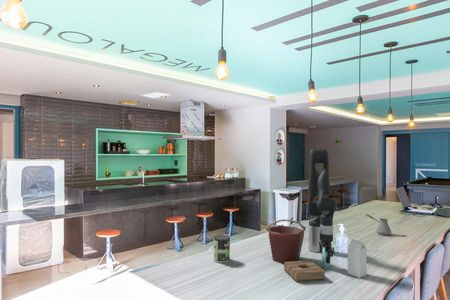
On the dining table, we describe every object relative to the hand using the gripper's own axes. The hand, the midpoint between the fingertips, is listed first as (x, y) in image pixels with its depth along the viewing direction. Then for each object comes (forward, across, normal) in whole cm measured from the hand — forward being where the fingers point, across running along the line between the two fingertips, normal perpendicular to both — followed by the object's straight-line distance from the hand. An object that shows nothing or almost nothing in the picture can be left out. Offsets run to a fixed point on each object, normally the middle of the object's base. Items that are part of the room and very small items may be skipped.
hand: (326, 261), depth 180 cm
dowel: (+4, 0, 0) cm, 4 cm away
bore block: (+4, +8, -18) cm, 20 cm away
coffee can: (+4, -24, -58) cm, 63 cm away
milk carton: (+4, +12, +12) cm, 17 cm away
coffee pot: (+4, -67, +86) cm, 109 cm away
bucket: (+4, -18, -18) cm, 26 cm away
